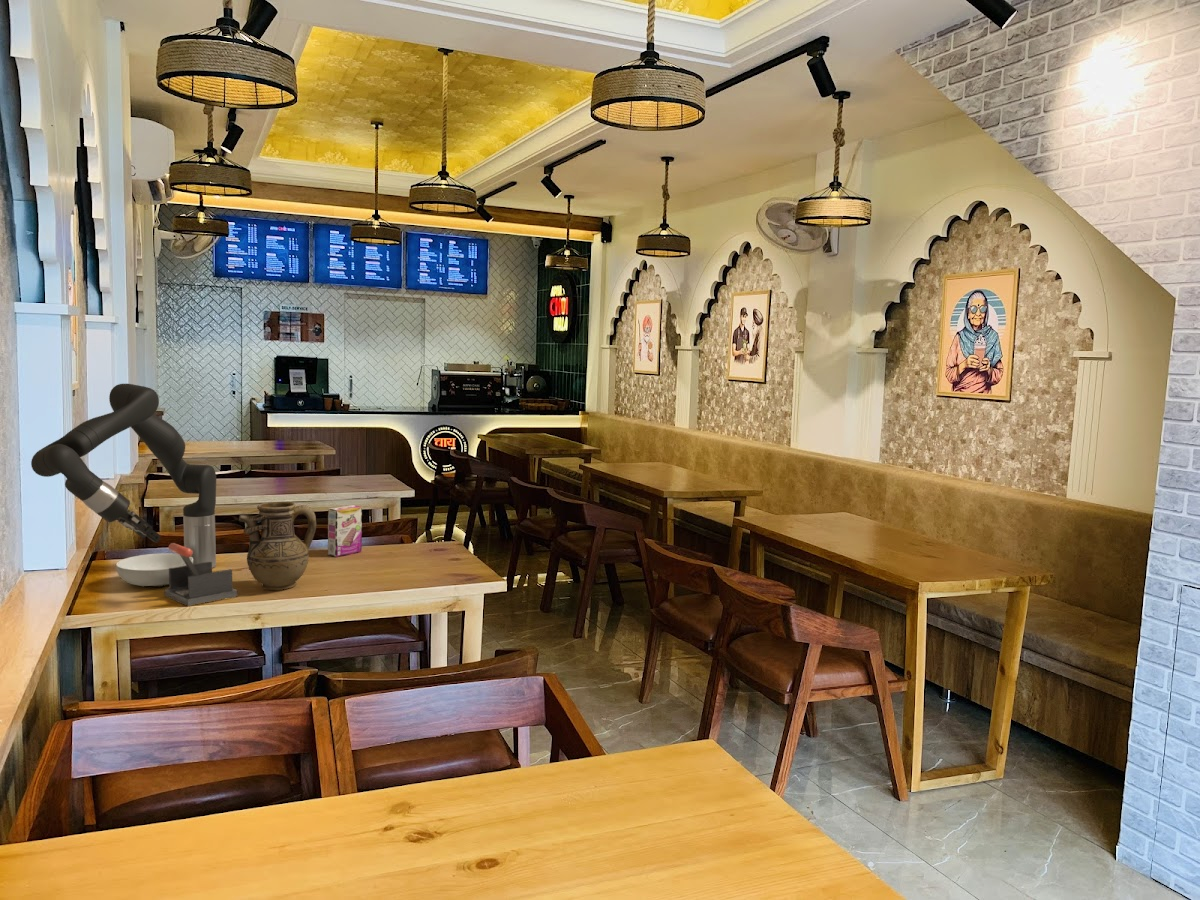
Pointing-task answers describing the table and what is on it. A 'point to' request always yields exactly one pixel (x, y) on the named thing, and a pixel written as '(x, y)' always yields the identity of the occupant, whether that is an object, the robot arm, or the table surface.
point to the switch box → (199, 584)
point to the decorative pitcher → (278, 544)
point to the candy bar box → (344, 530)
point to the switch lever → (184, 556)
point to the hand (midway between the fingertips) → (152, 537)
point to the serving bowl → (149, 568)
